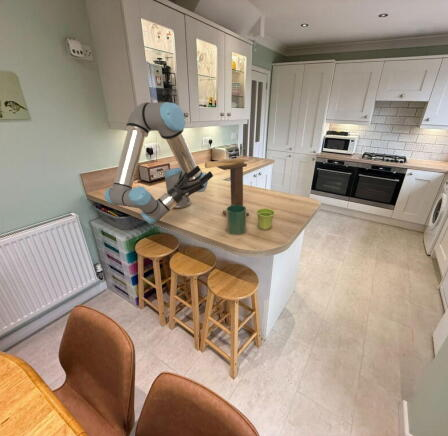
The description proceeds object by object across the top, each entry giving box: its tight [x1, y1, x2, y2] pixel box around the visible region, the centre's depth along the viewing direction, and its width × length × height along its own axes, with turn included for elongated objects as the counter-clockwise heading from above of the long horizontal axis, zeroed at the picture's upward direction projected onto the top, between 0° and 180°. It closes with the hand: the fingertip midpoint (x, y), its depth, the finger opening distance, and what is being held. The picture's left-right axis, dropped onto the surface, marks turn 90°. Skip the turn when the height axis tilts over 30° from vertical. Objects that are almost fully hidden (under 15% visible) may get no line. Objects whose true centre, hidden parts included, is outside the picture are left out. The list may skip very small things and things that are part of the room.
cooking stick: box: [204, 156, 245, 169], centre depth 120 cm, size 2×22×2 cm, turn 125°
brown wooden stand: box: [217, 162, 250, 217], centre depth 129 cm, size 11×14×30 cm
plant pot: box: [256, 207, 276, 230], centre depth 121 cm, size 9×9×9 cm
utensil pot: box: [226, 204, 247, 235], centre depth 117 cm, size 10×10×12 cm
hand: (205, 170), depth 115 cm, fingers open, 13 cm apart
